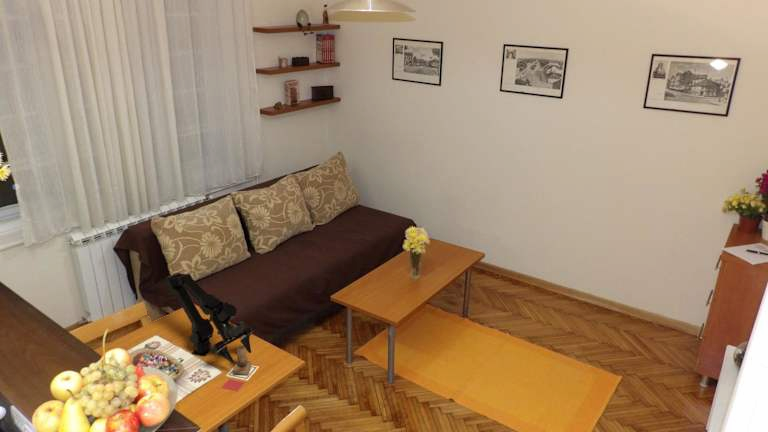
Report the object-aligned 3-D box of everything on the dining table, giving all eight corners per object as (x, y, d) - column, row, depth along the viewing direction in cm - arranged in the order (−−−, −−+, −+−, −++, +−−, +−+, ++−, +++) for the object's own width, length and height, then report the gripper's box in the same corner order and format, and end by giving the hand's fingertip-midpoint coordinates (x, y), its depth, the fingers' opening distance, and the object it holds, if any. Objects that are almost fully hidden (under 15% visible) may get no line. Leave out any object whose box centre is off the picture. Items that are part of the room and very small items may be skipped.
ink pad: (219, 390, 225) (219, 388, 225) (228, 380, 232) (228, 378, 231) (237, 394, 223) (237, 392, 223) (246, 383, 230) (246, 381, 229)
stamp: (233, 375, 233) (232, 352, 230) (237, 366, 239) (235, 344, 235) (247, 375, 233) (246, 353, 230) (251, 367, 239) (250, 345, 235)
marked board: (225, 377, 233) (225, 375, 233) (238, 364, 242) (237, 362, 242) (247, 382, 231) (247, 380, 230) (259, 368, 240) (259, 366, 239)
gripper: (212, 327, 224) (232, 361, 221) (248, 309, 238) (267, 341, 236) (201, 337, 230) (220, 370, 228) (237, 319, 245) (255, 350, 243)
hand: (242, 357), depth 234 cm, fingers open, 9 cm apart
